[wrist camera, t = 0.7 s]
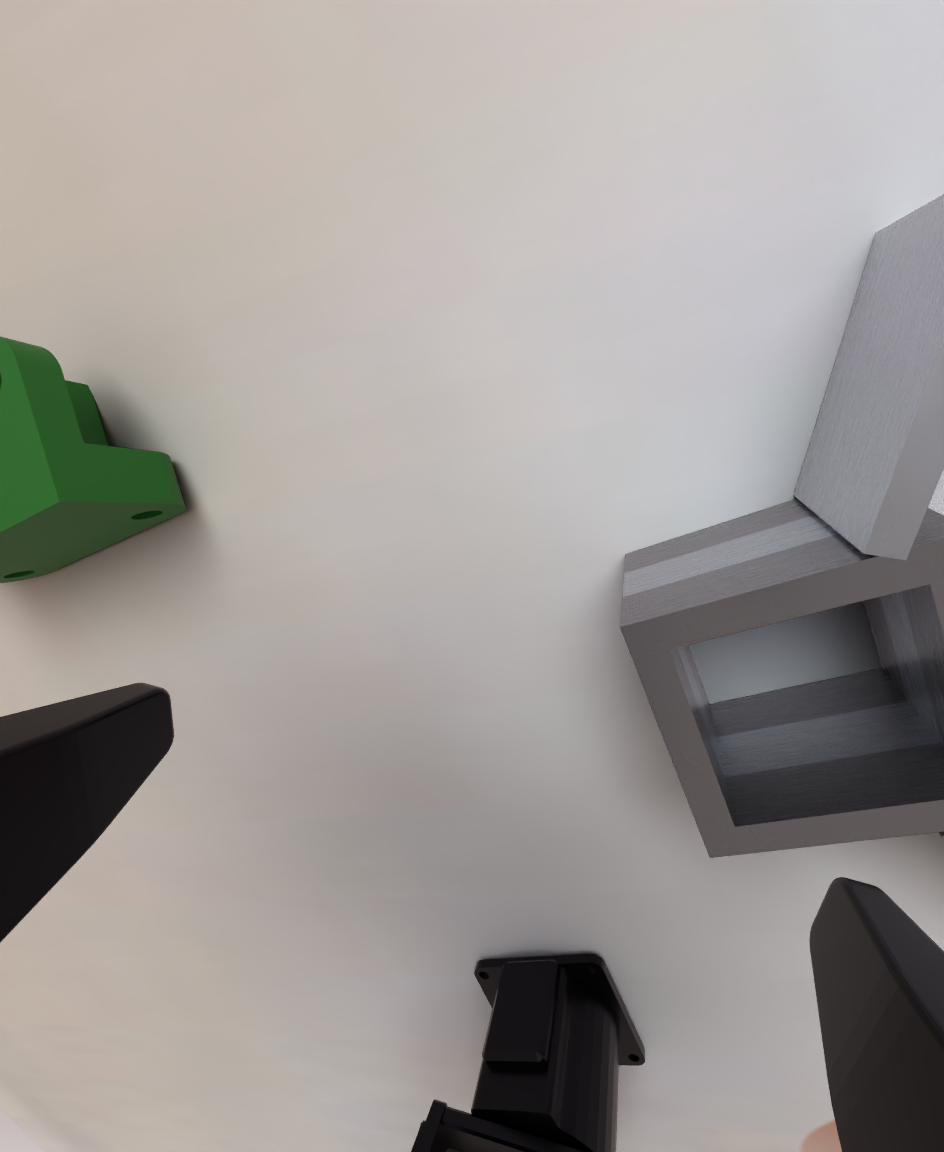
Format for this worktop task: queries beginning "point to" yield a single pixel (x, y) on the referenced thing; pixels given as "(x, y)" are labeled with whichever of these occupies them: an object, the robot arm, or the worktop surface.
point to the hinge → (823, 595)
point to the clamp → (67, 471)
